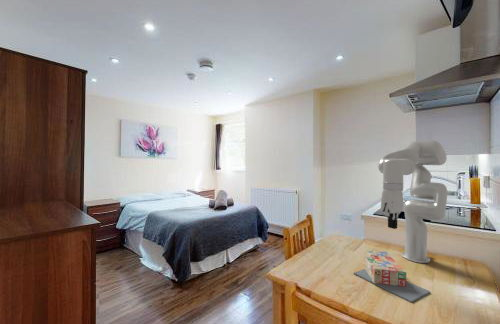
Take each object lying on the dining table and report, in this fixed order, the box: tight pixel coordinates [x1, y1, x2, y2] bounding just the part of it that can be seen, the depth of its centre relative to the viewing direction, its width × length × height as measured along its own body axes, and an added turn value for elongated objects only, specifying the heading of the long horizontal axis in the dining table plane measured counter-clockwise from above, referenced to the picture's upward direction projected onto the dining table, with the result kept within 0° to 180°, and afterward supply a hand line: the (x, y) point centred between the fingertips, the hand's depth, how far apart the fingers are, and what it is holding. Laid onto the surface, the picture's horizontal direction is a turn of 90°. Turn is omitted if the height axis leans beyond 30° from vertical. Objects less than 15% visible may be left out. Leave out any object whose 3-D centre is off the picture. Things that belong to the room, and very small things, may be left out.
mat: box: [353, 268, 431, 304], centre depth 98 cm, size 14×24×1 cm, turn 29°
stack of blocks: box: [364, 250, 407, 287], centre depth 105 cm, size 21×6×12 cm
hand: (392, 227), depth 102 cm, fingers closed
